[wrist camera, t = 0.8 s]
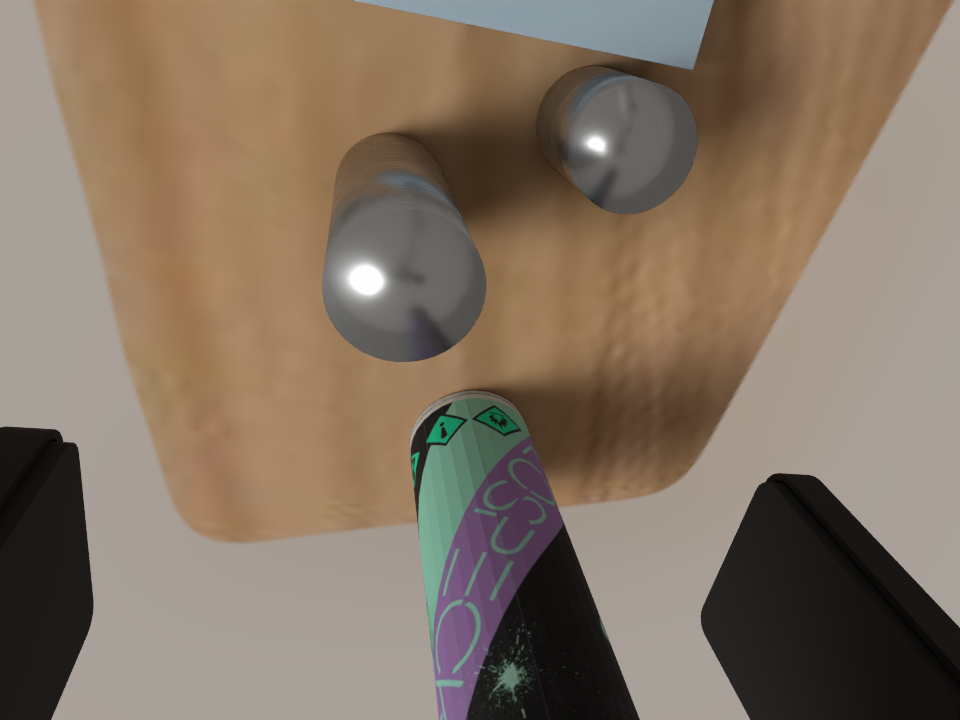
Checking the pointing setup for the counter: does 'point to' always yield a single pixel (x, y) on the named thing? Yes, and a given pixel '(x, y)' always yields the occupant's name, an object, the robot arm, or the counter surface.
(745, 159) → the counter surface
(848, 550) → the robot arm
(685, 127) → the short pin
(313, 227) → the counter surface
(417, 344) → the long pin
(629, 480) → the counter surface
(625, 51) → the collar block
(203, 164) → the counter surface
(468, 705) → the spray can
